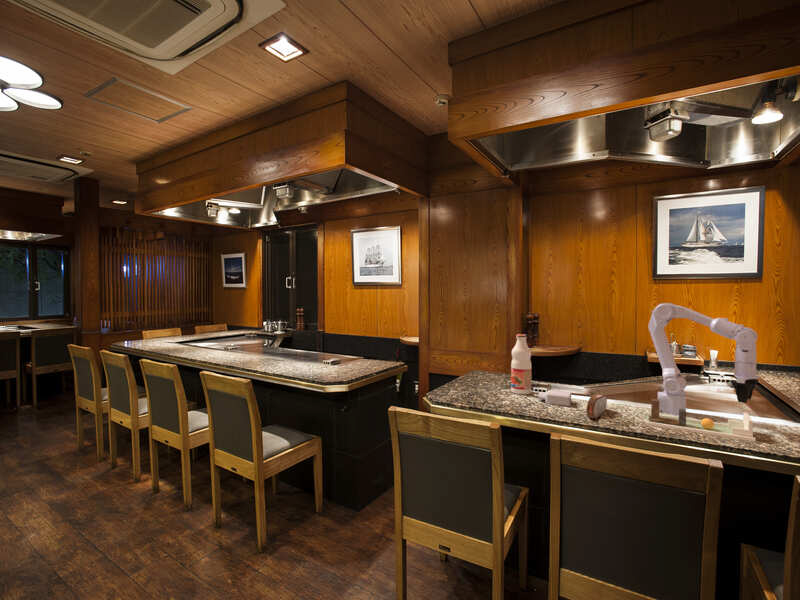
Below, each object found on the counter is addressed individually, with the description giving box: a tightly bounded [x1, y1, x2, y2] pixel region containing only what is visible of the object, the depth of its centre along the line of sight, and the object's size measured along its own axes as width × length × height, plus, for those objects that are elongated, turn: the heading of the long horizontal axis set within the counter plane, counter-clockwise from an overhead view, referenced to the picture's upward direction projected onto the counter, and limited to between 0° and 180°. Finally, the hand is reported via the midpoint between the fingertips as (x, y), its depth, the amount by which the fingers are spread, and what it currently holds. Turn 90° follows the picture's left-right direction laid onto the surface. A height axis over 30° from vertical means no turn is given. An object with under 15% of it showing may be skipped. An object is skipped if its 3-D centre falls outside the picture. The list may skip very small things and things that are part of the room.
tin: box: [586, 392, 608, 420], centre depth 155 cm, size 15×3×8 cm, turn 134°
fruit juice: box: [510, 333, 532, 395], centre depth 192 cm, size 9×9×28 cm
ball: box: [701, 417, 715, 429], centre depth 136 cm, size 4×4×4 cm
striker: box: [649, 398, 687, 426], centre depth 143 cm, size 11×4×7 cm, turn 56°
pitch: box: [644, 412, 756, 443], centre depth 138 cm, size 30×13×8 cm, turn 56°
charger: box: [533, 389, 572, 407], centre depth 176 cm, size 5×9×15 cm
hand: (744, 400), depth 141 cm, fingers open, 7 cm apart
